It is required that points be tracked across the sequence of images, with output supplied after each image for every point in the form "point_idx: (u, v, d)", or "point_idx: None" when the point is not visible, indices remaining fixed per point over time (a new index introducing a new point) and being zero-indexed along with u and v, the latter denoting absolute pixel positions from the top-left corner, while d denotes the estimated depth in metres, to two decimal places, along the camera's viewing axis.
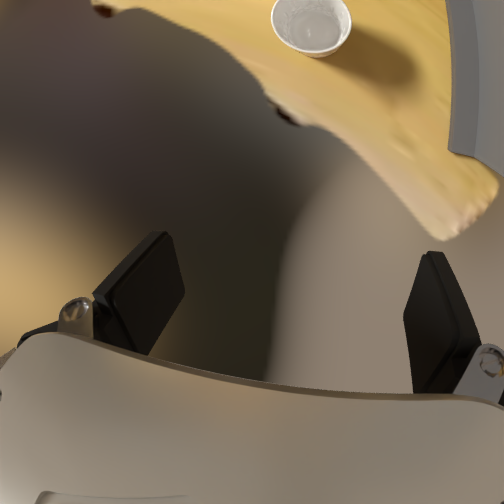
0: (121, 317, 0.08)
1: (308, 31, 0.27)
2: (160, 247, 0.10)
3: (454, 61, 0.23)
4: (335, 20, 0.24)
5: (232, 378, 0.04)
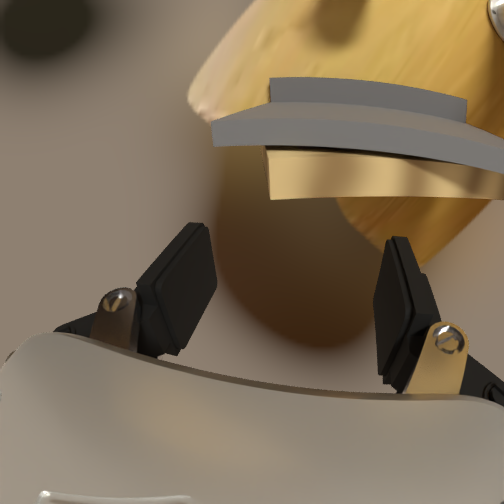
0: (165, 307, 0.08)
1: None
2: (199, 238, 0.10)
3: None
4: None
5: (232, 378, 0.04)
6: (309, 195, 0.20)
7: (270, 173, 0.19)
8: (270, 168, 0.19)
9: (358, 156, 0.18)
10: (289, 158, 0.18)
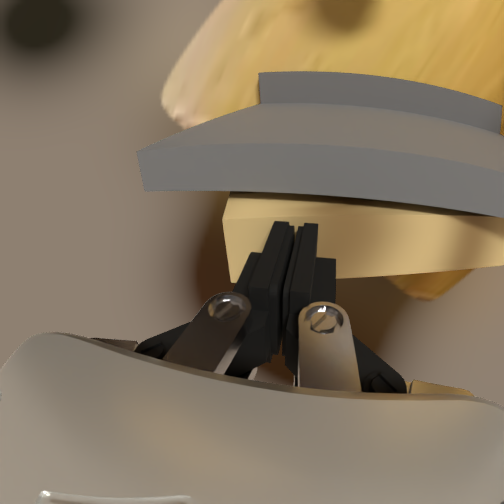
0: (276, 311, 0.08)
1: None
2: (291, 237, 0.10)
3: (368, 75, 0.26)
4: None
5: (232, 378, 0.04)
6: None
7: (227, 243, 0.11)
8: (226, 235, 0.11)
9: (386, 212, 0.10)
10: (260, 219, 0.11)
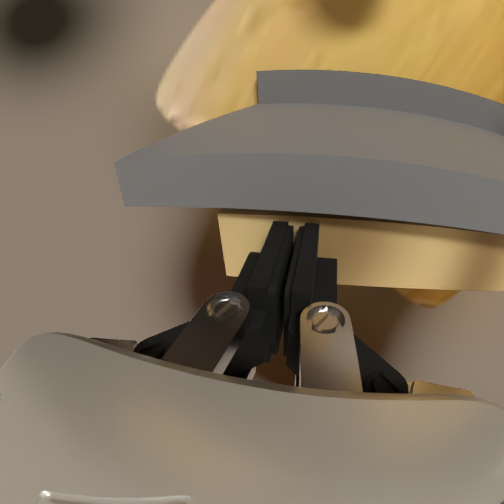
0: (275, 311, 0.08)
1: None
2: (290, 237, 0.10)
3: None
4: None
5: (232, 378, 0.04)
6: None
7: (222, 237, 0.11)
8: (221, 229, 0.11)
9: (386, 219, 0.10)
10: (253, 215, 0.11)
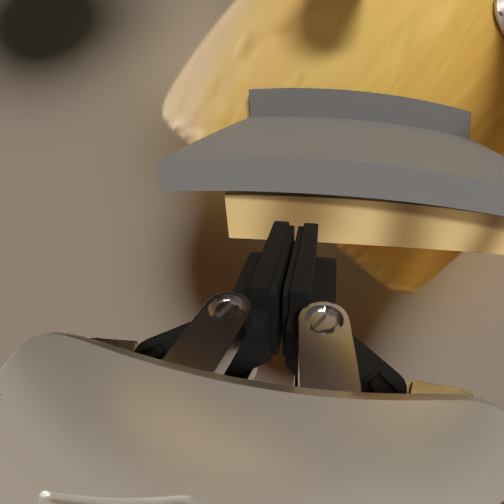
0: (276, 311, 0.08)
1: None
2: (291, 237, 0.10)
3: (345, 90, 0.32)
4: None
5: (232, 378, 0.04)
6: None
7: (227, 210, 0.18)
8: (227, 205, 0.18)
9: (330, 196, 0.16)
10: (246, 196, 0.17)
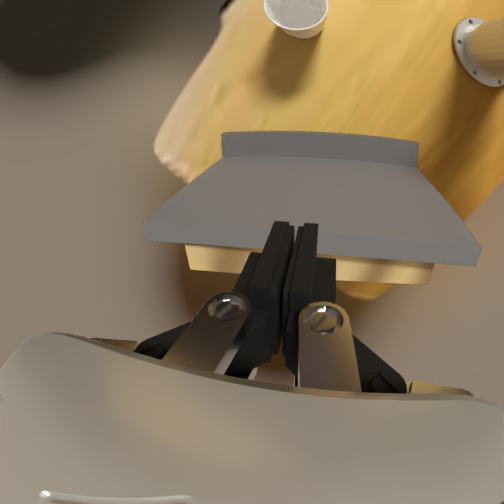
0: (276, 311, 0.08)
1: (302, 13, 0.30)
2: (291, 237, 0.10)
3: (301, 132, 0.42)
4: None
5: (232, 378, 0.04)
6: (215, 270, 0.28)
7: (187, 253, 0.28)
8: (186, 250, 0.28)
9: None
10: (197, 245, 0.27)
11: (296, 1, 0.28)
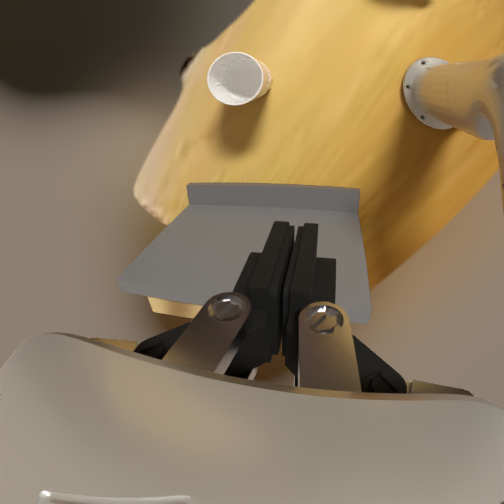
0: (276, 311, 0.08)
1: (250, 74, 0.39)
2: (291, 237, 0.10)
3: (252, 184, 0.51)
4: None
5: (232, 378, 0.04)
6: (169, 313, 0.37)
7: (149, 301, 0.37)
8: (149, 299, 0.37)
9: None
10: None
11: (244, 63, 0.38)
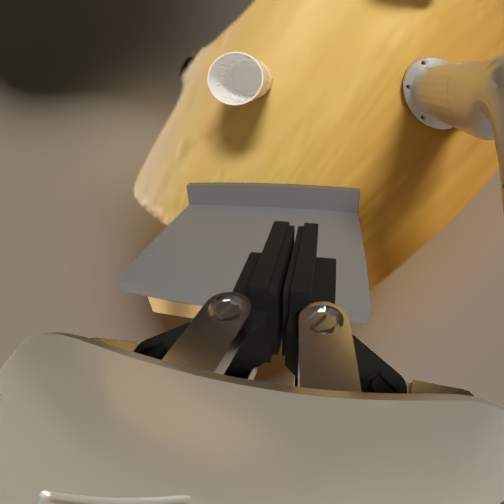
0: (276, 311, 0.08)
1: (250, 74, 0.39)
2: (291, 237, 0.10)
3: (252, 184, 0.51)
4: None
5: (232, 378, 0.04)
6: (169, 313, 0.38)
7: None
8: (149, 299, 0.37)
9: None
10: None
11: (244, 63, 0.38)
